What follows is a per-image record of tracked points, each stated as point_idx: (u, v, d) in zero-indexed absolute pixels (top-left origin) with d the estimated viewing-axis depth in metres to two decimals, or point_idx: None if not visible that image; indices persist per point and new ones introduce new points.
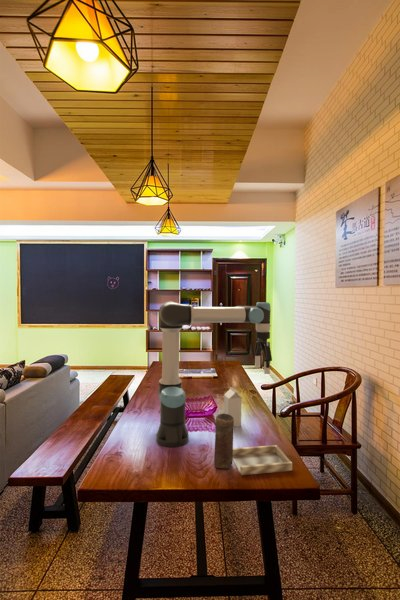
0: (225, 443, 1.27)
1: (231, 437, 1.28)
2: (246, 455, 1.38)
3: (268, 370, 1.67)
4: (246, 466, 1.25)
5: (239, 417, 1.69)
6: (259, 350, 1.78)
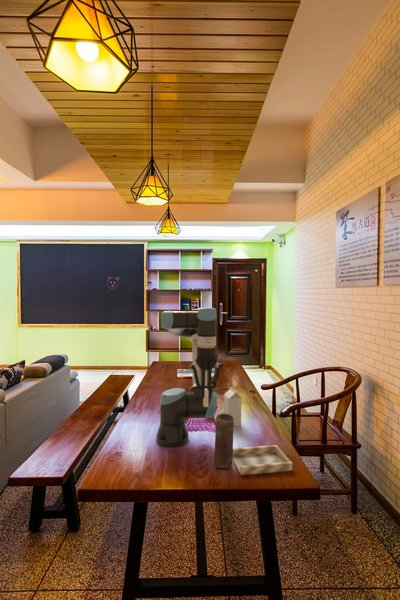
0: (225, 443, 1.27)
1: (231, 437, 1.28)
2: (246, 455, 1.38)
3: (204, 402, 1.28)
4: (246, 466, 1.25)
5: (239, 417, 1.69)
6: (207, 377, 1.29)
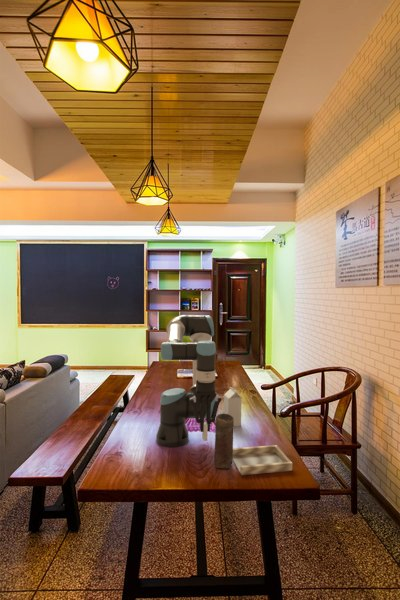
0: (225, 443, 1.27)
1: (231, 437, 1.28)
2: (246, 455, 1.38)
3: (203, 435, 1.28)
4: (246, 466, 1.25)
5: (239, 417, 1.69)
6: (207, 411, 1.28)
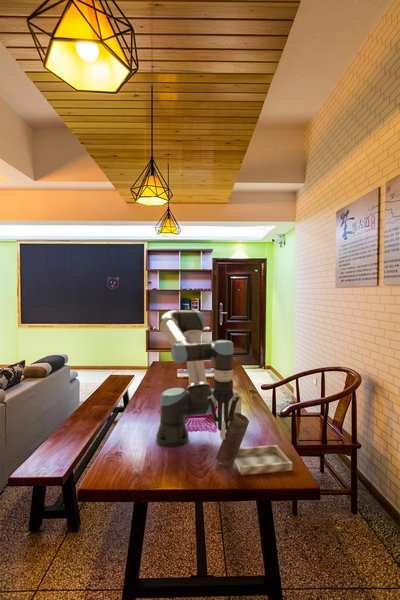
0: (235, 441, 1.27)
1: (242, 438, 1.28)
2: (246, 455, 1.38)
3: (221, 434, 1.29)
4: (246, 466, 1.25)
5: None
6: (224, 410, 1.30)
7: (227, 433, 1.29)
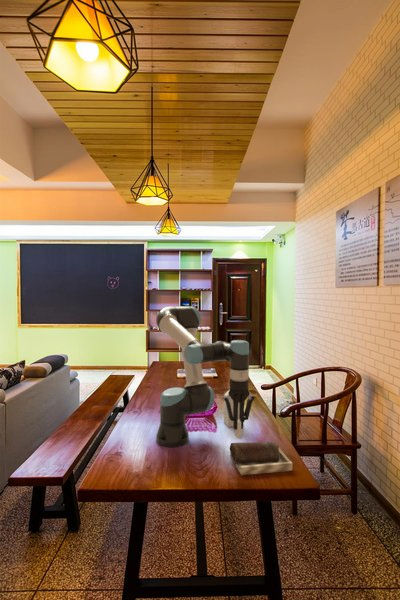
0: (258, 450, 1.31)
1: (263, 457, 1.31)
2: None
3: (236, 433, 1.30)
4: (246, 466, 1.25)
5: None
6: (240, 409, 1.31)
7: (259, 442, 1.35)
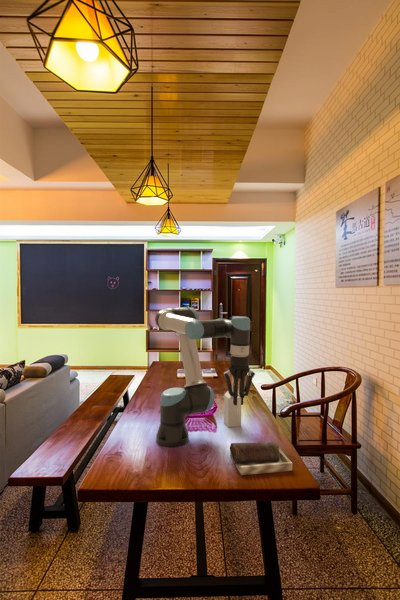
0: (259, 451, 1.31)
1: (263, 457, 1.31)
2: None
3: (236, 409, 1.31)
4: (246, 466, 1.25)
5: (239, 417, 1.69)
6: (240, 385, 1.31)
7: None
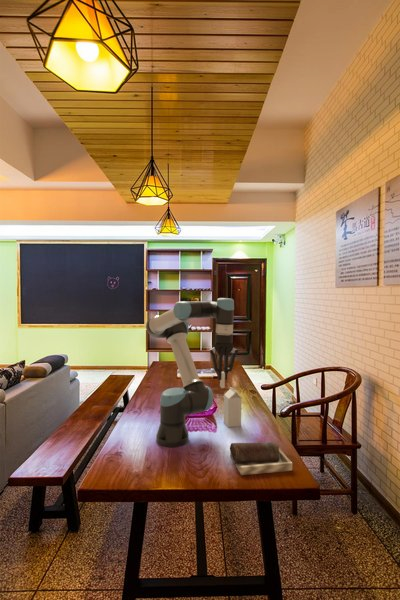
0: (259, 451, 1.31)
1: (263, 457, 1.31)
2: None
3: (221, 383, 1.41)
4: (246, 466, 1.25)
5: (239, 417, 1.69)
6: (224, 361, 1.42)
7: None
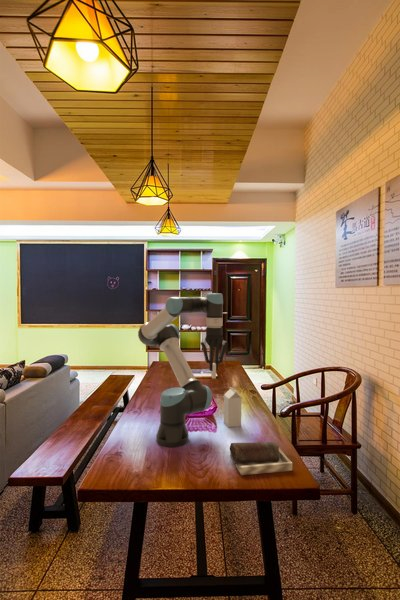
0: (258, 450, 1.31)
1: (263, 457, 1.31)
2: None
3: (212, 374, 1.48)
4: (246, 466, 1.25)
5: (239, 417, 1.69)
6: (215, 353, 1.49)
7: (259, 442, 1.35)
